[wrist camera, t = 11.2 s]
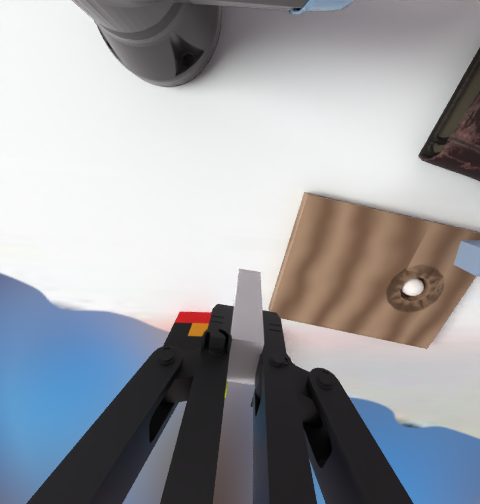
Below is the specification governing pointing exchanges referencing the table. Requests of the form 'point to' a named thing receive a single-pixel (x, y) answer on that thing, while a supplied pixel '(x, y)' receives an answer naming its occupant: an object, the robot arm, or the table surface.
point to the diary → (458, 128)
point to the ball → (413, 287)
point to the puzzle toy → (189, 331)
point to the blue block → (469, 256)
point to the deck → (370, 271)
